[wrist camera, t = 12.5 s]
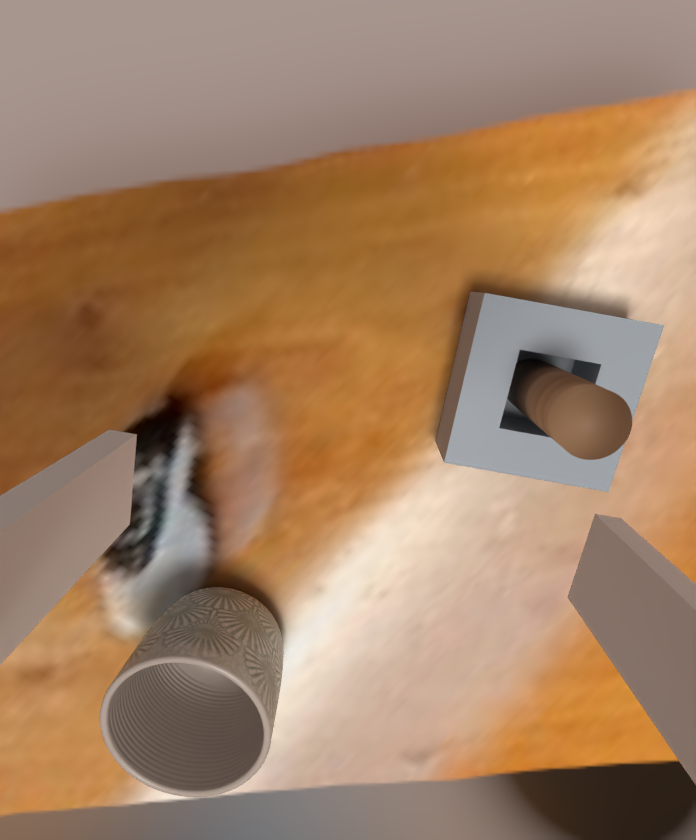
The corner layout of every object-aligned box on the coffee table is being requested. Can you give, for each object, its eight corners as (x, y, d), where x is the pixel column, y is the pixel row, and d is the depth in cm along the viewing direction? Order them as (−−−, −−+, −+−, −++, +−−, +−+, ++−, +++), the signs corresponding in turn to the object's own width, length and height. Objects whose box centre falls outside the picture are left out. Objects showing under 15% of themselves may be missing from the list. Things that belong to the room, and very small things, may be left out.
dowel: (497, 404, 40) (547, 452, 29) (511, 353, 39) (568, 382, 28) (548, 413, 40) (618, 465, 29) (563, 363, 39) (642, 396, 28)
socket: (435, 441, 42) (444, 462, 37) (470, 291, 39) (484, 292, 34) (581, 467, 42) (608, 491, 37) (627, 319, 39) (663, 325, 34)
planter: (217, 544, 45) (171, 625, 35) (320, 632, 47) (306, 733, 37) (131, 630, 48) (64, 728, 37) (232, 709, 50) (196, 825, 39)
